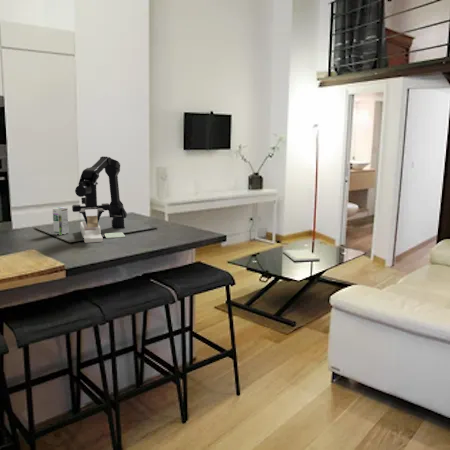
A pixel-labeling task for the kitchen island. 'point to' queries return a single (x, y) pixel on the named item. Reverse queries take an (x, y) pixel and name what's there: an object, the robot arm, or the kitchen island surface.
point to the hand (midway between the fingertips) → (92, 223)
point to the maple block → (92, 221)
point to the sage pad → (114, 235)
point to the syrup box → (60, 220)
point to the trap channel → (91, 233)
